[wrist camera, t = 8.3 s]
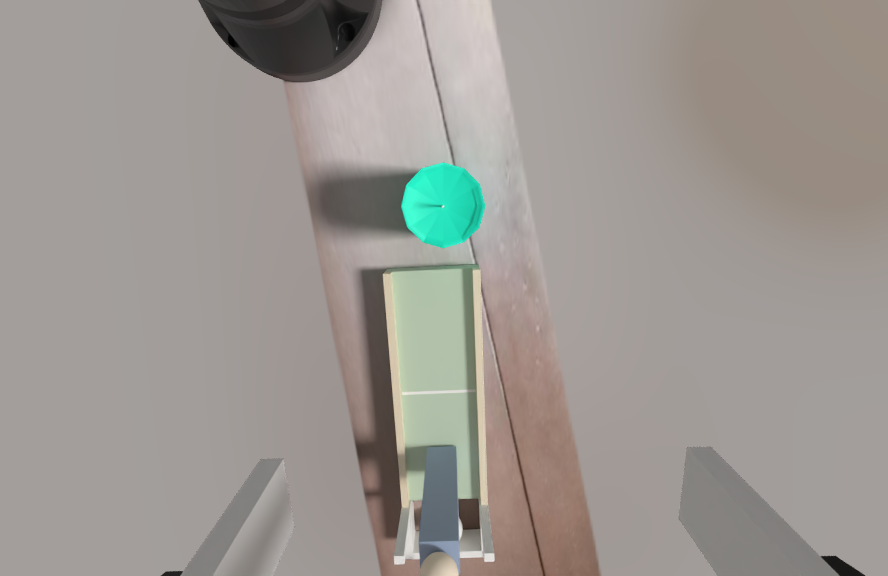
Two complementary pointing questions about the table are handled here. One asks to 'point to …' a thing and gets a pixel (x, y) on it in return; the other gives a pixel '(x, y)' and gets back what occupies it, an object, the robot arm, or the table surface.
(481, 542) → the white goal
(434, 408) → the pitch
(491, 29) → the table surface
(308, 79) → the robot arm
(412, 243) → the table surface
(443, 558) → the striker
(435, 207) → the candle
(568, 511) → the table surface
